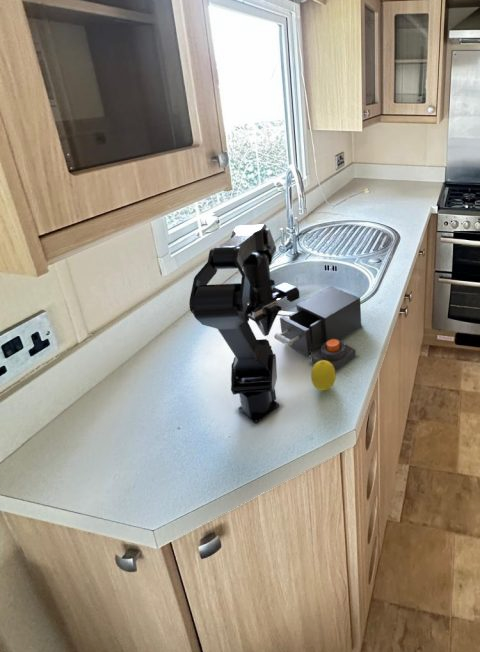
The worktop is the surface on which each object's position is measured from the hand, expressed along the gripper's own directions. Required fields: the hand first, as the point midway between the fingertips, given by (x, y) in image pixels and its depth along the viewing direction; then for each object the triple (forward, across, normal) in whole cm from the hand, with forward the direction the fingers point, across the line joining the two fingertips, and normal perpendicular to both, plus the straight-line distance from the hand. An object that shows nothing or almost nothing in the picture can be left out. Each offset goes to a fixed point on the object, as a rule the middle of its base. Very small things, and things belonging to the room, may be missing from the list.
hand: (265, 335), depth 99 cm
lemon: (+10, -3, +16) cm, 19 cm away
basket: (+9, -12, 0) cm, 15 cm away
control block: (+10, -12, +10) cm, 19 cm away
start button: (+6, -12, +10) cm, 17 cm away
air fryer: (+10, -21, 0) cm, 23 cm away
